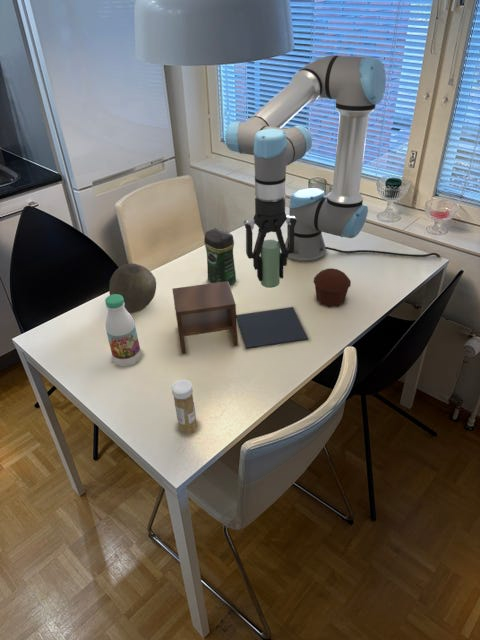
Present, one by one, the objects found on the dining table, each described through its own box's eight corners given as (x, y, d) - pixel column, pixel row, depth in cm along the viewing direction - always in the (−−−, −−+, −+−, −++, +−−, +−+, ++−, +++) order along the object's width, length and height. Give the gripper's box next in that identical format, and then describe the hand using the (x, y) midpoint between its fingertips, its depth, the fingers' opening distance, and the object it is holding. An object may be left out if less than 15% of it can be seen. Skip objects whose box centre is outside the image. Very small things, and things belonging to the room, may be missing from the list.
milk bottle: (110, 355, 139) (94, 295, 127) (136, 345, 142) (123, 287, 130) (118, 370, 133) (103, 310, 121) (145, 360, 136) (133, 300, 124)
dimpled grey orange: (133, 327, 149) (124, 285, 140) (105, 310, 156) (95, 269, 148) (168, 306, 157) (161, 265, 148) (139, 291, 165) (131, 251, 156)
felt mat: (292, 308, 153) (292, 306, 153) (307, 339, 141) (308, 338, 140) (236, 316, 151) (235, 315, 151) (246, 349, 138) (246, 347, 138)
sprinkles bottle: (200, 431, 115) (194, 389, 107) (181, 437, 114) (174, 395, 106) (194, 417, 118) (189, 376, 110) (176, 423, 117) (169, 381, 109)
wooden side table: (230, 321, 149) (228, 280, 141) (237, 345, 140) (235, 304, 131) (178, 328, 147) (172, 288, 139) (181, 354, 138) (175, 312, 129)
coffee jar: (240, 282, 167) (238, 232, 156) (222, 291, 163) (219, 241, 152) (221, 272, 173) (218, 223, 162) (204, 281, 169) (199, 231, 158)
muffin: (356, 300, 156) (359, 273, 150) (332, 314, 150) (334, 286, 144) (328, 285, 163) (330, 259, 157) (304, 298, 158) (306, 271, 152)
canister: (277, 277, 139) (277, 238, 132) (281, 286, 135) (282, 247, 128) (258, 279, 138) (258, 240, 131) (263, 289, 134) (262, 249, 127)
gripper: (301, 187, 126) (298, 266, 140) (231, 194, 124) (235, 274, 137) (310, 198, 120) (306, 279, 134) (236, 206, 118) (240, 288, 131)
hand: (270, 277), depth 135 cm, fingers closed on canister, 5 cm apart
